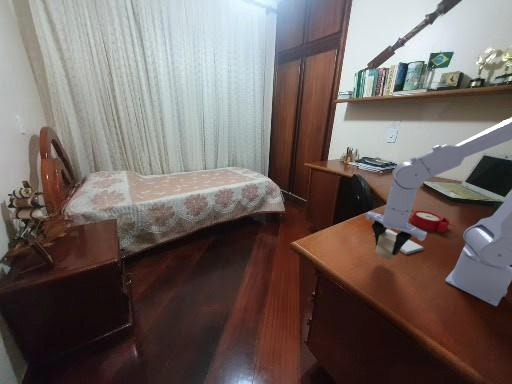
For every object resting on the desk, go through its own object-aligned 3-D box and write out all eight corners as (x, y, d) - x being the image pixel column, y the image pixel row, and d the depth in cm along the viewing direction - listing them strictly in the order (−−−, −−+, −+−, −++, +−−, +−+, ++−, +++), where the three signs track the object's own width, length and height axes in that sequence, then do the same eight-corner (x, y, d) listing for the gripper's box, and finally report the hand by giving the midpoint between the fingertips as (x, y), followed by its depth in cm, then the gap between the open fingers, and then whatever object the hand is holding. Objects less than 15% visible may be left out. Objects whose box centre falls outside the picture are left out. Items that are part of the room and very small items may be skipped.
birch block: (395, 255, 60) (401, 237, 58) (389, 260, 58) (394, 241, 56) (381, 248, 63) (386, 231, 61) (374, 252, 61) (379, 235, 59)
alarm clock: (412, 208, 92) (459, 212, 81) (412, 221, 93) (458, 227, 82) (405, 214, 85) (455, 220, 74) (405, 228, 87) (454, 236, 75)
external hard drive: (405, 256, 66) (372, 235, 77) (422, 251, 69) (388, 232, 79) (406, 251, 65) (373, 232, 76) (424, 247, 68) (389, 228, 79)
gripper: (364, 201, 59) (355, 241, 64) (424, 221, 48) (408, 269, 52) (376, 196, 63) (367, 235, 67) (435, 214, 52) (419, 259, 56)
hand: (386, 249), depth 60 cm, fingers closed on birch block, 4 cm apart
